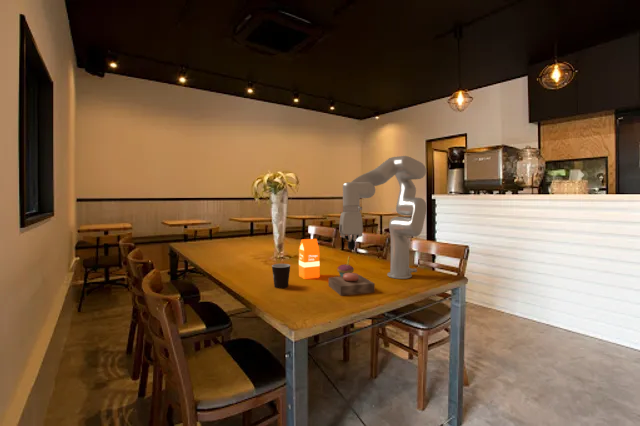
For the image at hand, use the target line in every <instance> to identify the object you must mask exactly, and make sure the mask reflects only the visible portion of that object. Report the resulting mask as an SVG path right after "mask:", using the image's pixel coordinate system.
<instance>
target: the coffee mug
mask: <svg viewBox="0 0 640 426" xmlns="http://www.w3.org/2000/svg"><path fill="white" fill-rule="evenodd" d="M271 270H272V276H273V277H272V278H273V286H274V288H275V289H286V288H288V287H289V282H290V281H289V280H290V272H291V271H290V270H291V264H289V263H274V264H272V265H271Z"/></svg>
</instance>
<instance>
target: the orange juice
mask: <svg viewBox="0 0 640 426" xmlns="http://www.w3.org/2000/svg"><path fill="white" fill-rule="evenodd" d="M320 254H321V253H320V246H319V244H318V239H317V238H304V239H303V238H302V239H301V240H300V244H299V248H298V277H300V278H302V279H304V280H306V279H307V280H308V279H316V278H320V271H321V270H320V268H321V267H320V266H321V265H320V263H321V262H320V257H321V256H320Z"/></svg>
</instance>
